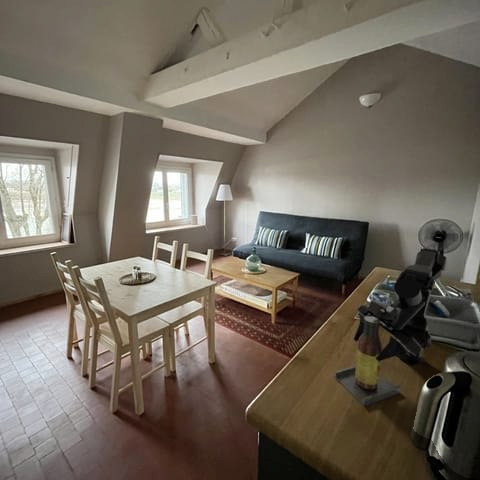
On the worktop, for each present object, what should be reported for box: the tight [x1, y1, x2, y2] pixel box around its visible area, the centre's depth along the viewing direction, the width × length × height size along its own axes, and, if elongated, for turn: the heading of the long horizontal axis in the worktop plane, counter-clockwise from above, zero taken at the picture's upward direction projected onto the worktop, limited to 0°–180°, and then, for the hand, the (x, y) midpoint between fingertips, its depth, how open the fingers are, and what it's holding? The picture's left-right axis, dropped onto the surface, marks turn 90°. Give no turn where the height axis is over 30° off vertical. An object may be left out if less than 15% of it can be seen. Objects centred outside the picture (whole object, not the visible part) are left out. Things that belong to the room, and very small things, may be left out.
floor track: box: [333, 364, 402, 407], centre depth 76 cm, size 13×12×2 cm
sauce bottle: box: [355, 316, 383, 390], centre depth 75 cm, size 6×6×20 cm
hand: (365, 349), depth 74 cm, fingers open, 9 cm apart
